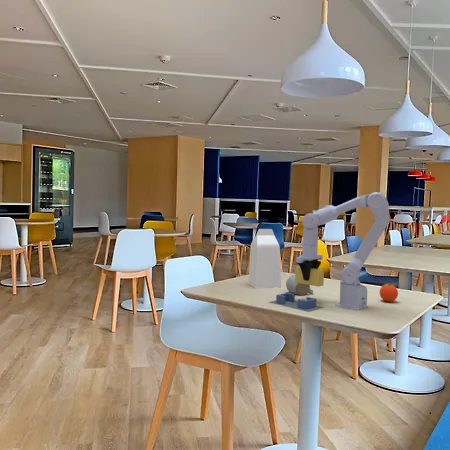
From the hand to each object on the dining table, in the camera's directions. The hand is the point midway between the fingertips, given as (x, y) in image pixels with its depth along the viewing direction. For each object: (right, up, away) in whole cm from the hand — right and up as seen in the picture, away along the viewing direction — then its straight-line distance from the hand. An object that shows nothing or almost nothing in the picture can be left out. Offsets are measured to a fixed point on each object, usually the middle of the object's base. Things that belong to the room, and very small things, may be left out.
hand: (309, 279), depth 177 cm
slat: (0, -2, 0) cm, 2 cm away
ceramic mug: (-1, -8, +16) cm, 18 cm away
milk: (-15, -7, +32) cm, 36 cm away
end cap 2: (-2, -9, -9) cm, 13 cm away
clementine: (+32, -9, +5) cm, 34 cm away
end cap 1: (-9, -8, -1) cm, 13 cm away
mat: (-6, -9, -5) cm, 12 cm away
